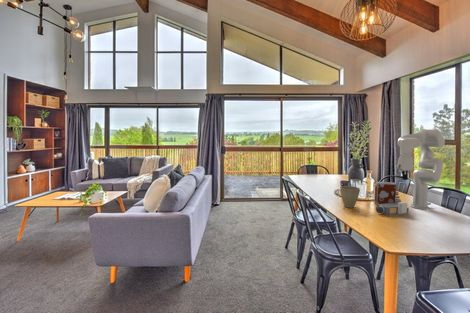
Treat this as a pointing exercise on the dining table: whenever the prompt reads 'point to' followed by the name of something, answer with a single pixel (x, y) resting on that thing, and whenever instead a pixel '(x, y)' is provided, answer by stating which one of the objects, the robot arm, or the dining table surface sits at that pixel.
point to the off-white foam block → (402, 207)
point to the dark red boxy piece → (386, 193)
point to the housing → (389, 209)
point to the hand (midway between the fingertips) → (404, 179)
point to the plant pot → (349, 195)
